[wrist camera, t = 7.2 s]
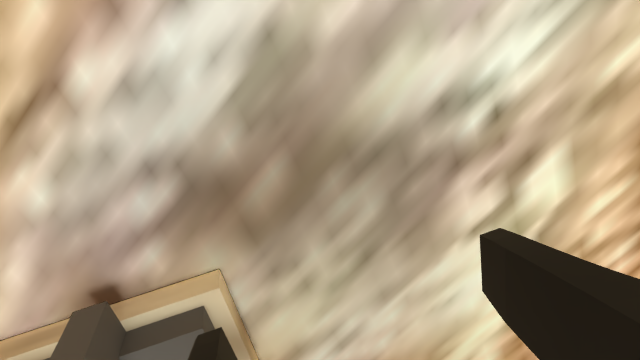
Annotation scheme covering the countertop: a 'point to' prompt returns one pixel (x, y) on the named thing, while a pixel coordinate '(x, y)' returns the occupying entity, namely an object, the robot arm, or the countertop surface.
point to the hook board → (150, 317)
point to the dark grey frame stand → (129, 336)
